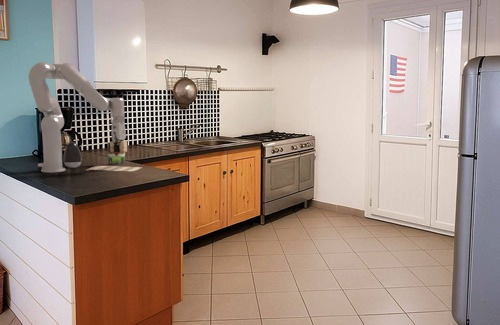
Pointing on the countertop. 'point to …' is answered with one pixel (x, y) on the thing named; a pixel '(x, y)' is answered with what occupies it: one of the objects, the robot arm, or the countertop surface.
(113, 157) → the coffee can
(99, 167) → the board
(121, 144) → the sanding block
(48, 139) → the robot arm
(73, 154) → the grey egg shaped speaker
